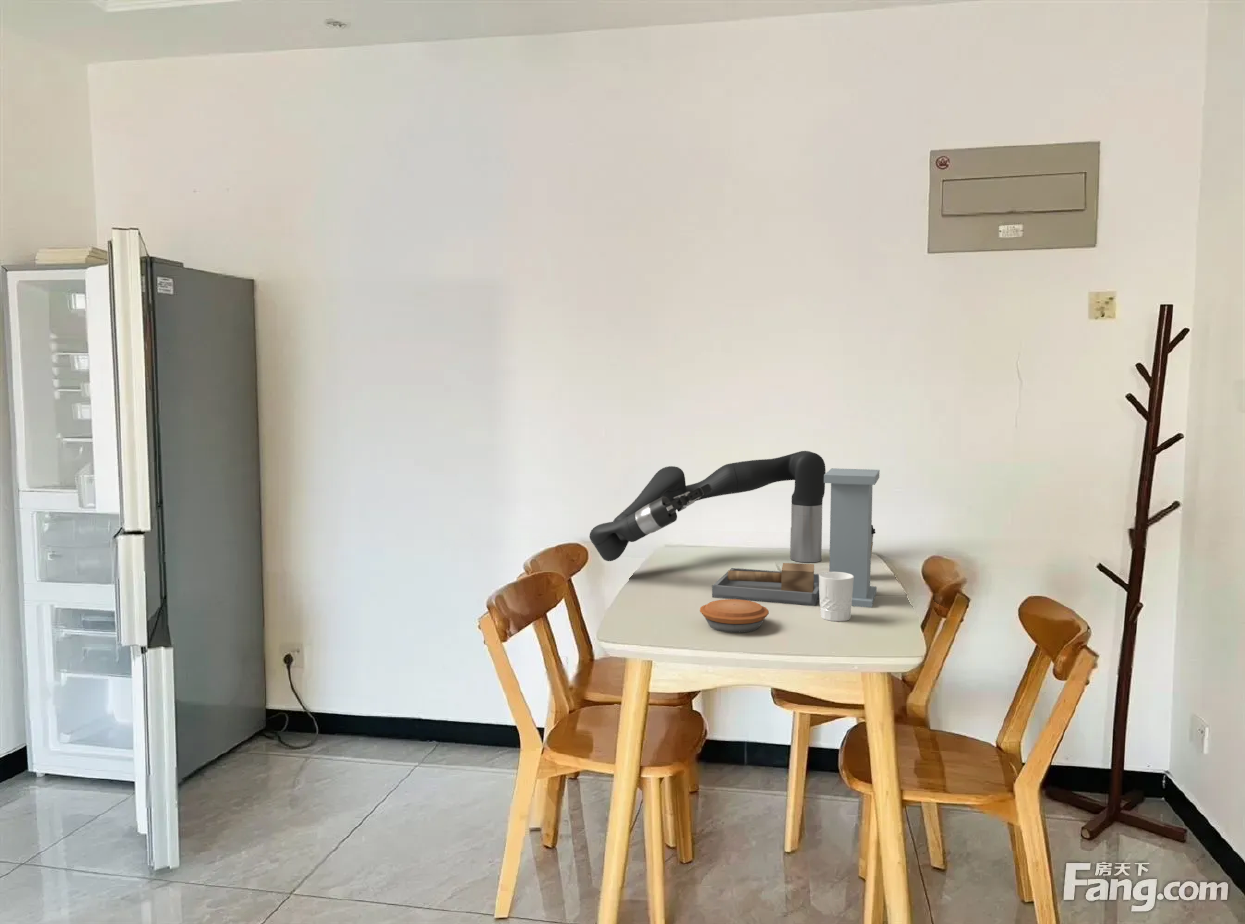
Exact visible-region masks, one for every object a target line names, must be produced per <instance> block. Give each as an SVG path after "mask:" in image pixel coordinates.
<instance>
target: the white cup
mask: <svg viewBox="0 0 1245 924" xmlns="http://www.w3.org/2000/svg"><path fill="white" fill-rule="evenodd" d="M818 574H819V597H820V599H819V607H820V609H819V610H820V612H819V613H820V617H821V619H823V620H826V621H831V622H846V621H848V620H850V619H851V617H852V616H851V615H852V613H851V612H852V607H853V606H852V596H853V581H854V576H853V575H851V574H848V573H843V572H829V571H825V572H821V573H818Z"/></svg>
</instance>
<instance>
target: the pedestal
mask: <svg viewBox="0 0 1245 924" xmlns="http://www.w3.org/2000/svg"><path fill="white" fill-rule="evenodd" d="M879 479H880V469H869V468H868V469H866V468H865V469H864V468H863V469H861V468H838V467H837V468H830V469H829V470H828V471H826V474H824V483H825V484H830V512H829V513H830V514H829V515H830V516H829V517H830V518H829V521H830V522H829V524H830V526H829V528H830V529H829V568H828V569H829V571H828V572H843V573H848V574H851V575H853V576H854V581H853V596H852V606H851V607H861V608H862V607H863V608H873V606H874V602H875V599H876V596H877V593H878V592H877V591H878V590H877V589H878V586H873V585H871V570H872V569H871V568H872V567H871V565H872V564H871V563H872V554H871V529H872V525H873V524H872V523H873V522H872V521H873V520H872V519H873V518H872V517H873V486H874V485H876V483H877V482H878V481H879ZM875 595H876V596H875Z"/></svg>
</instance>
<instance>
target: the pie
mask: <svg viewBox="0 0 1245 924" xmlns="http://www.w3.org/2000/svg"><path fill="white" fill-rule="evenodd" d="M769 611H770V610H769V609H768V608H767V607H766V606H763V605H761V603H759V602H757V601H750V600H739V599H727V598H724V599H718V600H713V601H710V602H709V603H707V604H704V605H701V606H700V609H699V612H700V614H701V615H702V617H704V618H705V620H706V622H707V624H708V626H709V627H710V628H712V629H713V630H716V631H720V632H724V633H747V632H753V631H757V630H758V629H759V628H760V627H761V625H762V623H764V620H765V619H766V618H767V617H768V615H769V613H770V612H769Z"/></svg>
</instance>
